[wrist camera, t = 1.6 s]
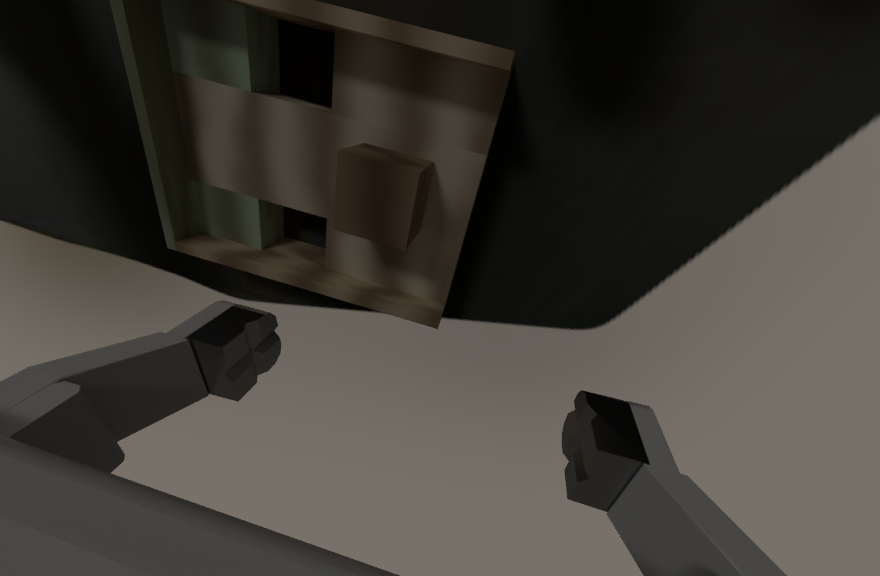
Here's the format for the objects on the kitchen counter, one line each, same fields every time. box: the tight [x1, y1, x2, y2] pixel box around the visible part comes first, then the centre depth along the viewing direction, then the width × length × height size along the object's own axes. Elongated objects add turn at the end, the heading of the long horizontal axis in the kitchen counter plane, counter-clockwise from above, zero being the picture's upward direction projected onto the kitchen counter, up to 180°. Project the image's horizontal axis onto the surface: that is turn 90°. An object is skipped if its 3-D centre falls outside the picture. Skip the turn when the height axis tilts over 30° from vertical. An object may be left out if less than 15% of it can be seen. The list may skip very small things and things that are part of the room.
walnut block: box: [333, 143, 434, 251], centre depth 26 cm, size 6×6×5 cm
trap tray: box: [110, 0, 515, 329], centre depth 29 cm, size 28×22×7 cm
